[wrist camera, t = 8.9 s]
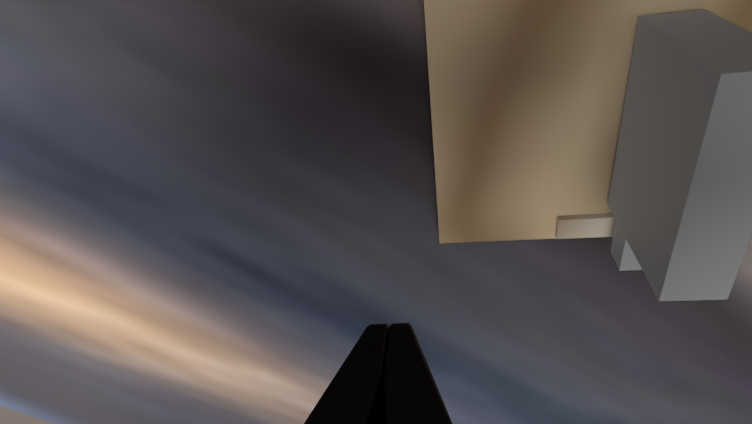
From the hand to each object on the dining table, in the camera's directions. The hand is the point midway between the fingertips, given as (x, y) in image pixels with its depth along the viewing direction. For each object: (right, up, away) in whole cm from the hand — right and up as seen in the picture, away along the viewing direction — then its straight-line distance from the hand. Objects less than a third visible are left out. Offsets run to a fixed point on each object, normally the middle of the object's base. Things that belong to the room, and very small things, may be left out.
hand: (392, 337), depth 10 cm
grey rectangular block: (+13, +5, +8) cm, 16 cm away
